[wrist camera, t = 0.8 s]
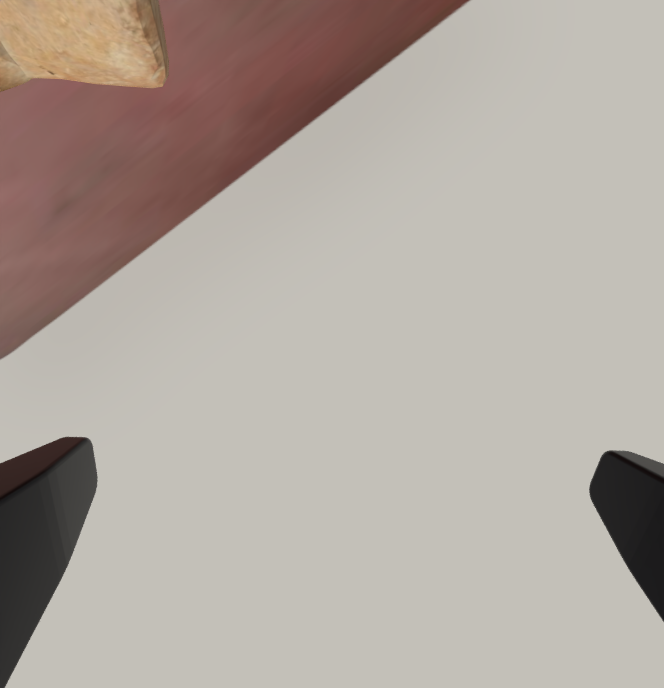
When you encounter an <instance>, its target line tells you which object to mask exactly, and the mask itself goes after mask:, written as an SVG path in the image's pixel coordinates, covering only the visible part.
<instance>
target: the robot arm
mask: <svg viewBox="0 0 664 688" xmlns="http://www.w3.org/2000/svg"><path fill="white" fill-rule="evenodd" d="M96 488H97V472H96V464H95V458H94V452H93V446H92V443H91V441H90V440H89V439H88V438H85V437H64V438H60V439H58V440H56V441H53V442H51V443H49V444H46V445H44V446H41V447H39V448H36V449H34V450H32V451H29V452H27V453H24V454H22V455H20V456H17V457H15V458H12V459H10V460H7V461H5V462H3V463H0V688H5V686H6V684H7V682H8V680H9V678H10V676H11V674H12V672H13V671H14V668H15V667H16V665H17V663H18V661H19V659H20V657H21V655H22V653H23V651H24V649H25V648H26V645H27V644H28V642H29V640H30V637H31V636H32V634H33V632H34V630H35V628H36V627H37V625H38V623H39V621H40V619H41V617H42V615H43V613H44V611H45V609H46V607H47V605H48V604H49V602H50V600H51V598H52V596H53V594H54V592H55V590H56V588H57V586H58V584H59V582H60V581H61V578H62V576H63V574H64V572H65V570H66V568H67V566H68V564H69V561H70V559H71V556H72V554H73V551H74V548H75V546H76V543H77V540H78V538H79V535H80V532H81V530H82V527H83V524H84V522H85V519H86V516H87V514H88V511H89V508H90V506H91V503H92V501H93V498H94V495H95V492H96ZM589 490H590V497H591V500H592V502H593V504H594V506H595V508H596V510H597V512H598V513H599V515H600V517H601V519H602V521H603V523H604V525H605V526H606V528H607V530H608V532H609V534H610V536H611V538H612V540H613V541H614V543H615V545H616V547H617V549H618V551H619V552H620V554H621V556H622V558H623V560H624V562H625V563H626V565H627V567H628V569H629V570H630V572H631V573H632V575H633V576H634V578H635V579H636V581H637V582H638V584H639V586H640V587H641V589H642V590H643V591H644V593H645V594H646V596H647V598H648V599H649V600H650V602H651V604H652V605H653V607H654V608H655V609H656V611H657V613H658V614H659V615H660V617H661V618H662V620H663V621H664V464H663V463H660V462H657V461H654V460H651V459H649V458H646V457H643V456H641V455H638V454H635V453H632V452H628V451H607V452H605V453H604V454H603V455H602V457H601V458H600V461H599V464H598V466H597V468H596V471H595V473H594V476H593V478H592V481H591V483H590V489H589Z"/></svg>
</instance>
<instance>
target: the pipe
mask: <svg viewBox="0 0 664 688" xmlns="http://www.w3.org/2000/svg"><path fill="white" fill-rule="evenodd" d="M168 69H169V60H168V53H167V47H166V40H165V33H164V27H163V22H162V17H161V12H160V7H159V2H158V0H0V92H1V91H4V90H7V89H10V88H13V87H15V86H18V85H21V84H24V83H26V82H27V81H29V80H31V79H33V78H52V79H66V80H73V81H79V82H86V83H93V84H104V85H117V86H130V87H144V88H155V87H162V86H163V85H164V83H165V81H166V79H167V77H168Z"/></svg>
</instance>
